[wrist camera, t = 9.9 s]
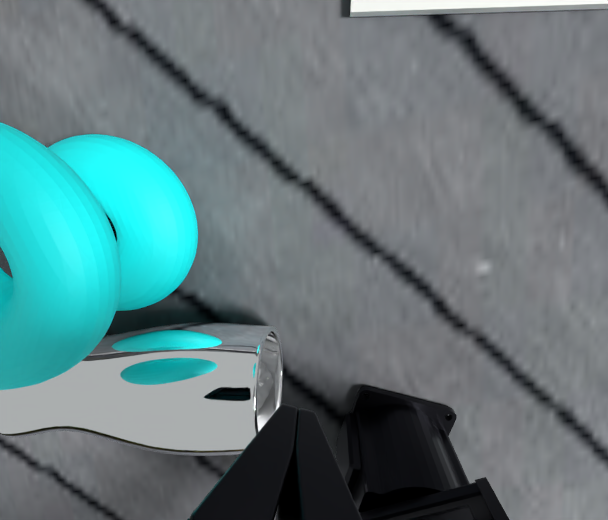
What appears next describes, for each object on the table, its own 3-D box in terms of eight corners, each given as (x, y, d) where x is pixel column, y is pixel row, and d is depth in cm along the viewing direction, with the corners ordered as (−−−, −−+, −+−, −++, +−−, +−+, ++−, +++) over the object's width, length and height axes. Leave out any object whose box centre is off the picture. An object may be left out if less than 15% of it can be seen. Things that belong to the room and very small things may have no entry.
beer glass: (95, 376, 24) (287, 380, 22) (10, 472, 18) (268, 489, 16) (54, 301, 21) (275, 298, 19) (-65, 386, 15) (244, 394, 13)
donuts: (-30, 42, 8) (131, 379, 10) (168, 114, 17) (228, 279, 20) (-298, 159, 9) (-103, 429, 12) (21, 166, 19) (92, 313, 21)
